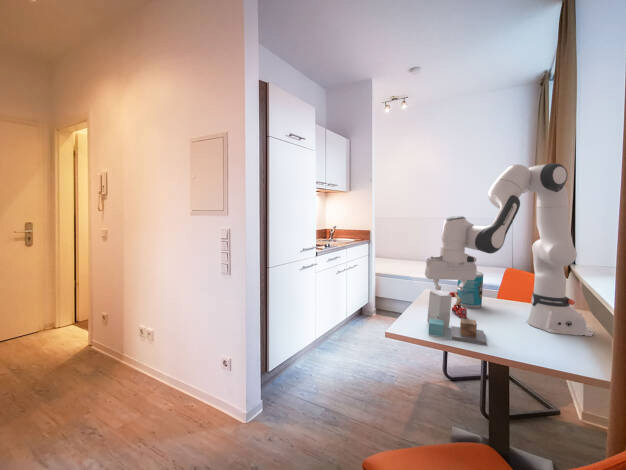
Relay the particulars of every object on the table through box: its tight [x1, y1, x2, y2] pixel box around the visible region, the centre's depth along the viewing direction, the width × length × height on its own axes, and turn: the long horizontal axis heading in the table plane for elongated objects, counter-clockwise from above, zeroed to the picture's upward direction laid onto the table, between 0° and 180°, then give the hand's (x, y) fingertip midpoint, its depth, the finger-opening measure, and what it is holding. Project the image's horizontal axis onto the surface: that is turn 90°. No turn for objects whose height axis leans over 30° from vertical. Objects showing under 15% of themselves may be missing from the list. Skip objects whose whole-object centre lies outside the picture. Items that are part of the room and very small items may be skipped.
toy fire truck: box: [448, 291, 468, 319], centre depth 151 cm, size 3×14×10 cm, turn 179°
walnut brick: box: [459, 318, 478, 337], centre depth 124 cm, size 6×6×5 cm
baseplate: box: [450, 325, 487, 346], centre depth 124 cm, size 12×12×1 cm
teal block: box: [427, 319, 444, 338], centre depth 127 cm, size 6×6×5 cm
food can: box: [456, 270, 484, 309], centre depth 164 cm, size 12×12×18 cm
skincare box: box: [426, 289, 453, 329], centre depth 136 cm, size 8×6×15 cm
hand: (448, 290), depth 124 cm, fingers open, 8 cm apart
